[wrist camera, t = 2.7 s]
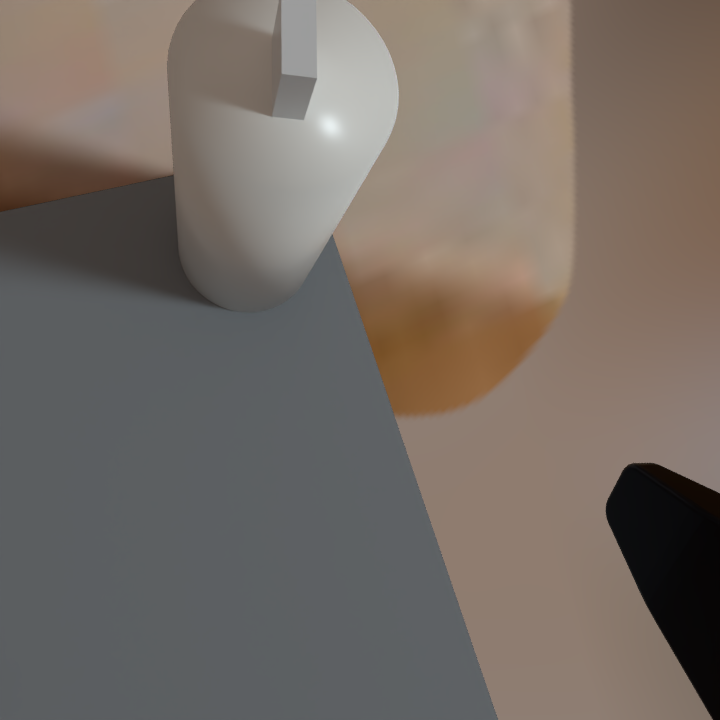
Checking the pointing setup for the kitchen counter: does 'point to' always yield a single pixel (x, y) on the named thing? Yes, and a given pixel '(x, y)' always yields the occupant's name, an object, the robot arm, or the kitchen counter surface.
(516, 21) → the kitchen counter surface
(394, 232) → the kitchen counter surface
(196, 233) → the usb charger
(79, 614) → the desk mat
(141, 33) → the kitchen counter surface
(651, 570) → the robot arm
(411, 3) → the kitchen counter surface
